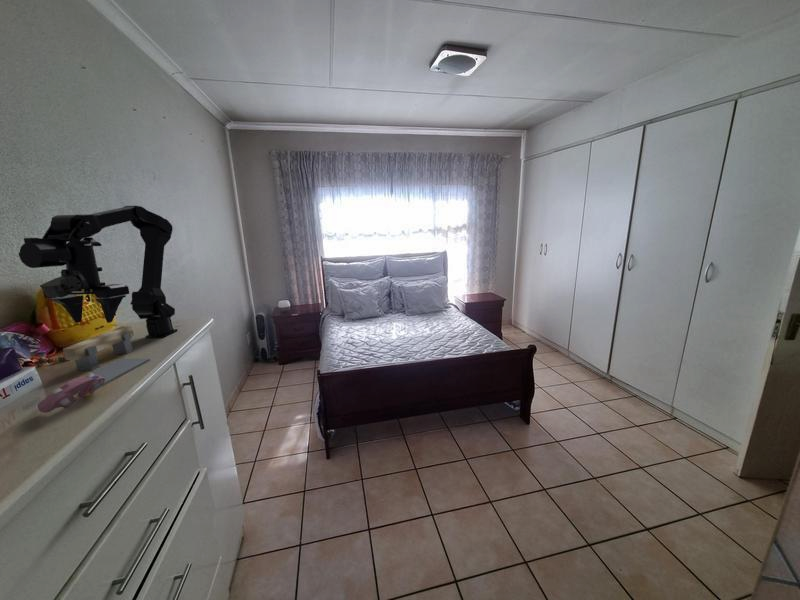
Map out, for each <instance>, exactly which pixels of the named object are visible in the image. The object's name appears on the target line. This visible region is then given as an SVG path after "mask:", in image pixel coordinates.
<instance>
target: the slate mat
mask: <svg viewBox="0 0 800 600" xmlns="http://www.w3.org/2000/svg"><path fill="white" fill-rule="evenodd" d="M149 361H150V362H151V359H150V358H132V357H131V358H130V357H129V358H128V357H127V358H124V357H121V358H118V359H115V360H113V361H112V362H109V363H108V364H107V363H106V365H103V366H102V367H98V368H96V369H94V370H92V371H91V372H89V373H87V374H85V375H82V376H81V377H84V376H88V375H89V374H91V373H93V374H96V375H100V376H101V377H103V378H104V379H105V382H104V383H103V384H102V385H101V386H100V387H99V388H98V389H100V388H102V387H103V386H106V385H107V384H110V383H111V382H113V381H115V380H117V379H119V378H120V377H122V376H124V375H125V374H127V373H129V372H131V371H133V370H135V369H136V368H139V367H140V366H143V365H144V364H146V363H148V362H149ZM62 386H63V385H62ZM62 386H59V387H58V388H60V387H62Z"/></svg>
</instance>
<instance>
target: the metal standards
mask: <svg viewBox="0 0 800 600" xmlns="http://www.w3.org/2000/svg"><path fill="white" fill-rule="evenodd" d="M121 337H122V340H123V341H121V342H118V343H116V344H113V345H111V347H112V349H113V350H112V351H113V353H114V354H115V355H116V354H118V355H119V354H121V355H122V354H124V355H125V354H129V353H132V352H133V351H134V349H133V346H132V341H131V340H132V339H133V336H131V332H126V333H123V334H121ZM84 350H85V353H86V356H85V357H83V358H81V359H78V360H74V362H75V365H76V368H77V371H95V370H97V369H99V368H101V367H100V364H99V361H98V357H97V354H99V351H97V348H96V346H91V347H89V348H86V349H84Z"/></svg>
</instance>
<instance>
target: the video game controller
mask: <svg viewBox="0 0 800 600" xmlns="http://www.w3.org/2000/svg"><path fill="white" fill-rule="evenodd" d="M90 373H91V372H90ZM83 376H84V375H83ZM104 382H105V379H104V378H103V377H101V376H100V375H96V374H93V373H91V374H89V375H88V376H84V377H82V376H79V377H76V378H72V379H71V380H69V381H67V382H66V383H64V384H63V385H62V387H61V386H59V387H60V388H59V387H58V388H55V389H53V391H51V392H50V393H49V394H48V395H46V396H45V398H43V399H42V400H41V401H40V402H38V404H37V409H38V411H39V412H41V413H45V414H46V413H50V412H53V411H54V410H55V409H57V408H58V409H59V408H63V409H68V408H70V407H72V406H74V404H75V403H76V401H77V398H75V396H76V395H77V397H78V398H79V399H81V400H85V399H88V398H89V397H92V395H93V394H94V392H96V390H98V389H100V388H101V387H100V386H101V385H102V384H103V383H104ZM99 387H100V388H99Z"/></svg>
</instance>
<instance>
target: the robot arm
mask: <svg viewBox="0 0 800 600" xmlns="http://www.w3.org/2000/svg"><path fill="white" fill-rule="evenodd" d="M127 222H130V223H131V224H132V226H133V227H134V228H136V229H138V230H139V235H140V237H141V239H142V240H143V242H144V244H145V245H144V252H143V253H144V254H143V265H142V266H143V267H142V277H141V286H140V288H139V289H138V290H137V291H132V293H131V292H130V289H129V286H128V285H127V284H125V283H112V284H106V282H105V281H103V282H101V279H100V273H99V272H103V267H101V266H99V267H98V264H97V261H96V259H97V258H96V255H95V250H94V247H102V243H100V242H99V241H97V240H95V239H94V238H93V237H92V236H95V235H96V234H98V233H100V232H101V231H102V230H103V229H105V228H108V227H111V226H115V225H119V224H124V223H127ZM172 233H173V225H172V224H171V222H170V221H169V220H168V219H167V218H164V217H163V216H161V215H159V214H156V213H155V212H152V211H149V210H148V209H146V208H145V207H143V206H141V205H124V206H122V207H119V208H114V209H109V210H105V211H104V210H103V211H98V212H94V213H91V214H90V213H89V214H86V213H85V214H60V215H59V214H58V215H55V216H53V217H51V221H50V225H49V227H48V228H47V229H46V231H45V233H44V234H43V236H42V237H41V238H39V237H24V238H23V242H24V243H23V244H22V245H21V246H20V249H19V252H18V256H19V259H20V261H21V263H22V264H23V265H24V266H26V267H28V268H31V269H38V268H53V267H63V266H65V268H63V269H61V271H60V274H61V275H60V276H58V277H56V278H53V279H50V280H49V281H47V282H45V283H42V284H40V285H39V287H40V288H41V290H42V293H43V297H44V299H49V301H51V302H53V303H57V304H59V305H61V306H62V307H63V308H64V309H65V311H66V312H67V314H69V316H70V317H71V319H72V320H73V321H74V323H76V324H78V323H81V322H82V320H83V309H84V307H83V306H84V305H83V302H84V295H94V296H95V297H96V298H95V299H94V301H96V302H97V303H99V304H100V305H101V309H102V312H103V315H104V319H105V321H106V323H107V324H110V323H112V322H114V319H115V316H116V313H117V311H118V308H119V306H120V304H121V302H122V300H123V299H124V298H126V297H127V295H130V293H131V300H130V304H129V305H131V309H132V311H134V313H135V314H136V315H137V316H138V318H139V319H140V320H145V323H146V324H145V326H146V330H147V331H146V332H147V333H148V334H147V335H145V338H166V337H167V336H169V335H171V334H173V333H175V332H177V331H178V329H177V328H174V326H173V323H172V322H173V321H172V319H171V318H172V317H173V316H175V314H176V312H175V311H176V309H175V307H173V306H172V305H170V304H168V303H167V298H166V295H165V293H164V291H163V290H162V278H163V277H162V276H163V265H164V263H163V262H164V254H165V253H164V252H165V246H166V245H167V244H168V242H169V241H170V240H171V238H172V235H173V234H172Z"/></svg>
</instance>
